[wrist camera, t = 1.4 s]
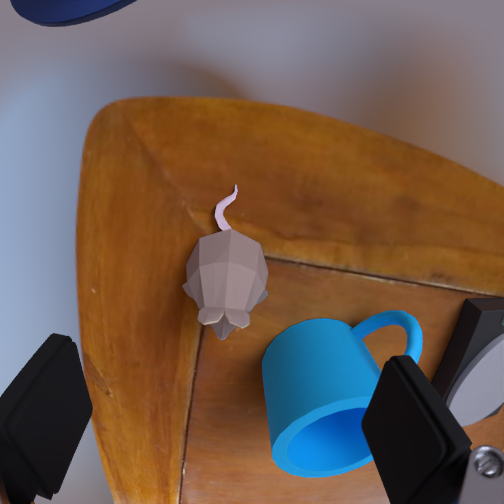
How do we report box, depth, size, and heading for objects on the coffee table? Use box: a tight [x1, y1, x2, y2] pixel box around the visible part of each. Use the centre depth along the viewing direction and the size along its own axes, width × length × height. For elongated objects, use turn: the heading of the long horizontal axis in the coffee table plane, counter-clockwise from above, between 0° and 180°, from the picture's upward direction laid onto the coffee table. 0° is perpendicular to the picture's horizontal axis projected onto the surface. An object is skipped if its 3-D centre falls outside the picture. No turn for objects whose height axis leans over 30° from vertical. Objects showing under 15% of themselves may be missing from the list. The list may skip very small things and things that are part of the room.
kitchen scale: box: [431, 298, 504, 427], centre depth 24 cm, size 15×13×3 cm
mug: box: [262, 310, 422, 477], centre depth 19 cm, size 12×8×8 cm
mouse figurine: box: [182, 185, 269, 340], centre depth 17 cm, size 5×8×7 cm, turn 173°
